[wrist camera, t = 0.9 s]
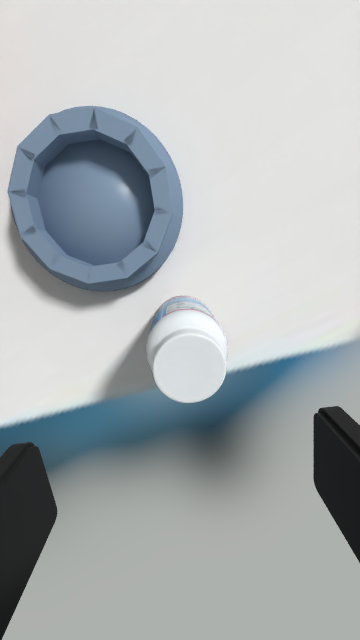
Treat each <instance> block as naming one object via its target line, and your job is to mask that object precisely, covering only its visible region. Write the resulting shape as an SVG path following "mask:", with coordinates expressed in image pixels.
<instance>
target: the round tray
mask: <svg viewBox="0 0 360 640" xmlns="http://www.w3.org/2000/svg"><path fill="white" fill-rule="evenodd" d="M8 195H9V199H10V202H11V208H12V212H13V217H14V220H15V223H16V226H17V229H18V232H19V234H20V236H21V238H22V240H23V242H24V243H25V245H26V247H27V248H28V250H29V251H30V252H31V254H32V255H33V256H34V257H35V259H36V260H37V261H38V262H39V263H40V264H41V265H42V266H43V267H44V268H45V269H46V270H48V271H49V272H50V273H52V274H53V275H54V276H56V277H57V278H59V279H61V280H62V281H64V282H66V283H69V284H71V285H73V286H76V287H79V288H82V289H87V290H92V291H115V290H120V289H124V288H127V287H130V286H133V285H135V284H137V283H139V282H141V281H143V280H145V279H146V278H147V277H149V276H150V275H152V274H153V273H154V272H155V271H156V270H157V269H158V268H159V267H160V266H161V265H162V264H163V263H164V262H165V260H166V259H167V258H168V256H169V255H170V253H171V251H172V250H173V248H174V245H175V243H176V241H177V238H178V235H179V232H180V228H181V222H182V215H183V198H182V190H181V184H180V180H179V177H178V174H177V171H176V168H175V166H174V164H173V161H172V159H171V157H170V156H169V154H168V152H167V151H166V149H165V147H164V146H163V145H162V143H161V142H160V141H159V140H158V139H157V137H156V136H155V135H154V134H153V133H152V132H151V131H150V130H149V129H148V128H146V127H145V126H144V125H142V124H141V123H140V122H138V121H137V120H135V119H134V118H132V117H130V116H128V115H126V114H124V113H121V112H119V111H116V110H113V109H109V108H104V107H97V106H83V107H75V108H71V109H67V110H64V111H61V112H59V113H55V114H49V115H48V116H47V117H46V118H45V119H44V120H43V121H42V122H41V123H40V124H39V125H38V126H37V127H36V128H35V129H34V130H33V131H32V132H31V133H30V134H29V135H28V136H27V137H26V138H25V139H24V140H23V141H22V142H21V143H20V144H19V145H18V147H17V150H16V155H15V159H14V164H13V168H12V173H11V178H10V182H9V187H8Z"/></svg>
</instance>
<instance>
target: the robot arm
mask: <svg viewBox="0 0 360 640" xmlns="http://www.w3.org/2000/svg"><path fill="white" fill-rule="evenodd" d="M314 483H315V486H316V489H317V491H318V493H319V495H320V496H321V498H322V499H323V501H324V503H325V505H326V507H327V508H328V510H329V512H330V513H331V515H332V517H333V518H334V520H335V522H336V523H337V525H338V526H339V528H340V530H341V532H342V534H343V535H344V537H345V539H346V540H347V542H348V544H349V545H350V547H351V549H352V550H353V552H354V554H355V555H356V557H357V559H358V560H359V562H360V425H358V423H357V422H355V421H354V420H353V419H352V418H351V417H350V416H349V415H348V414H347V413H346V412H345V411H344V410H343V409H342V408H340V407H338V406H335V407H326V408H320V409H319V411H318V413H316V414H315V415H314ZM56 517H57V507H56V503H55V500H54V496H53V493H52V490H51V487H50V483H49V480H48V477H47V474H46V470H45V467H44V464H43V460H42V457H41V454H40V451H39V448H38V447H36V446H34V444H33V443H30V442H28V443H19V444H13V445H11V446H10V447H9V448H8V449H7V450H6V452H5V453H4V454H3V455H2V456H1V457H0V640H2V637H3V635H4V633H5V631H6V629H7V626H8V624H9V622H10V620H11V618H12V615H13V613H14V611H15V609H16V607H17V604H18V602H19V600H20V598H21V596H22V593H23V591H24V589H25V587H26V584H27V582H28V580H29V578H30V576H31V574H32V571H33V569H34V567H35V565H36V563H37V560H38V558H39V556H40V554H41V552H42V549H43V547H44V545H45V543H46V540H47V538H48V536H49V534H50V531H51V529H52V527H53V525H54V523H55V520H56Z"/></svg>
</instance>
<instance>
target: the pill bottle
mask: <svg viewBox="0 0 360 640" xmlns="http://www.w3.org/2000/svg"><path fill="white" fill-rule="evenodd" d="M146 354H147V360H148V363H149V366H150V368H151V370H152V372H153V377H154V380H155V383H156V385H157V386H158V388H159V389H160V390H161V391H162V393H163V394H165V395H166V396H167V397H169V398H171V399H173V400H175V401H179V402H185V403H193V402H199V401H202V400H204V399H207V398H208V397H210V396H211V395H213V394H214V393H215V392H216V391H217V390H218V388H219V387H220V386H221V384H222V383H223V380H224V378H225V375H226V360H227V355H228V345H227V340H226V337H225V334H224V332H223V330H222V328H221V327H220V325H219V324H218V322H217V321H216V319H215V318H214V316H213V315H212V313H211V311H210V310H209V309H208V307H207V306H206V305H205V304H204V303H202V302H201V301H200V300H198V299H196V298H194V297H190V296H176V297H173V298H171V299H169V300H167V301H166V302H164V303H163V304H162V305H161V306H160V308H159V309H158V311H157V313H156V315H155V318H154V321H153V324H152V327H151V330H150V333H149V336H148V340H147V346H146Z"/></svg>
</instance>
